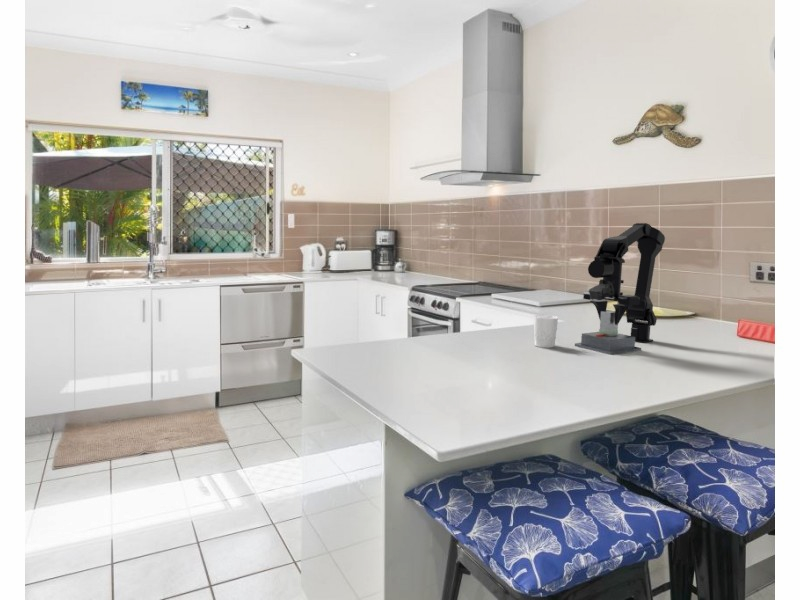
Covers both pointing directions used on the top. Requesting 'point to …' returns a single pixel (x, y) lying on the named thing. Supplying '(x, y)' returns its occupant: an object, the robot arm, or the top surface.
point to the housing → (608, 343)
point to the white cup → (545, 330)
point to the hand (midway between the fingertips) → (609, 323)
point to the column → (608, 324)
